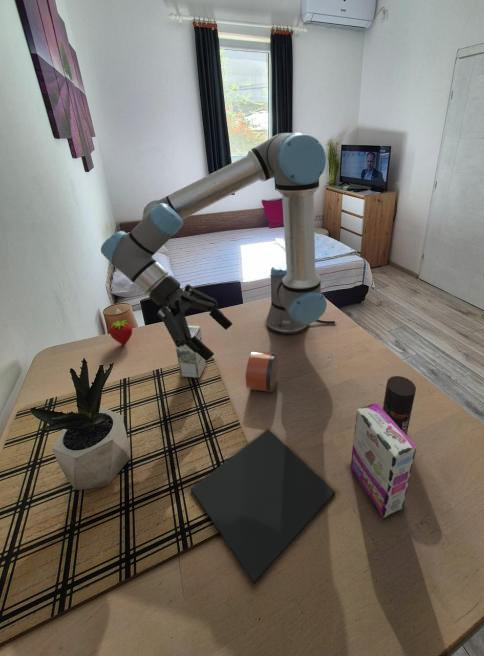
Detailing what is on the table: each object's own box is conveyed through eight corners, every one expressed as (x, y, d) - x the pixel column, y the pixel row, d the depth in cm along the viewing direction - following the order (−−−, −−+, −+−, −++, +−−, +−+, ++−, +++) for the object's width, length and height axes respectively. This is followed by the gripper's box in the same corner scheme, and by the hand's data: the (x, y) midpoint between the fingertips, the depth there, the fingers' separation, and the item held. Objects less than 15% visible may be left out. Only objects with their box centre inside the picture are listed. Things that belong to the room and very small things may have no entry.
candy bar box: (404, 508, 61) (418, 447, 54) (383, 520, 59) (394, 458, 53) (368, 457, 70) (377, 400, 64) (349, 466, 69) (355, 408, 62)
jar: (244, 395, 84) (246, 357, 84) (255, 380, 94) (256, 346, 93) (269, 398, 83) (271, 360, 83) (276, 383, 93) (278, 349, 92)
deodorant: (387, 420, 79) (395, 372, 73) (410, 435, 75) (420, 385, 69) (374, 435, 76) (381, 385, 70) (397, 451, 72) (407, 400, 66)
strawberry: (121, 337, 111) (114, 312, 107) (139, 340, 109) (134, 315, 105) (107, 347, 106) (101, 321, 102) (127, 351, 104) (120, 324, 100)
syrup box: (206, 365, 98) (200, 324, 92) (199, 379, 93) (193, 336, 87) (187, 364, 98) (181, 323, 93) (179, 377, 93) (172, 335, 87)
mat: (268, 430, 77) (268, 429, 76) (334, 493, 63) (334, 491, 63) (191, 490, 64) (190, 488, 64) (254, 584, 51) (253, 582, 50)
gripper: (174, 273, 94) (227, 323, 97) (119, 318, 71) (190, 380, 75) (189, 257, 91) (243, 309, 94) (136, 299, 68) (210, 365, 72)
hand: (220, 341), depth 85 cm, fingers open, 13 cm apart
